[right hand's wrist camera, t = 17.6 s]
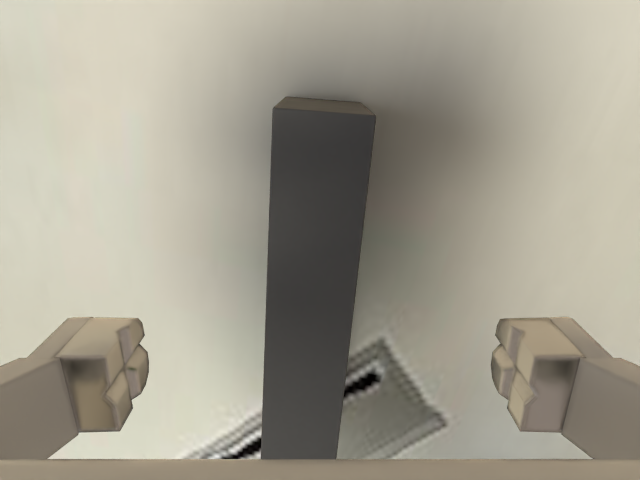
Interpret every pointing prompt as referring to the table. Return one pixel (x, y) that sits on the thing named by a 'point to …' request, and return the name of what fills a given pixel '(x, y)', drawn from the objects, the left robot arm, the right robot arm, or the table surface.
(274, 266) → the block
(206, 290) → the table surface
